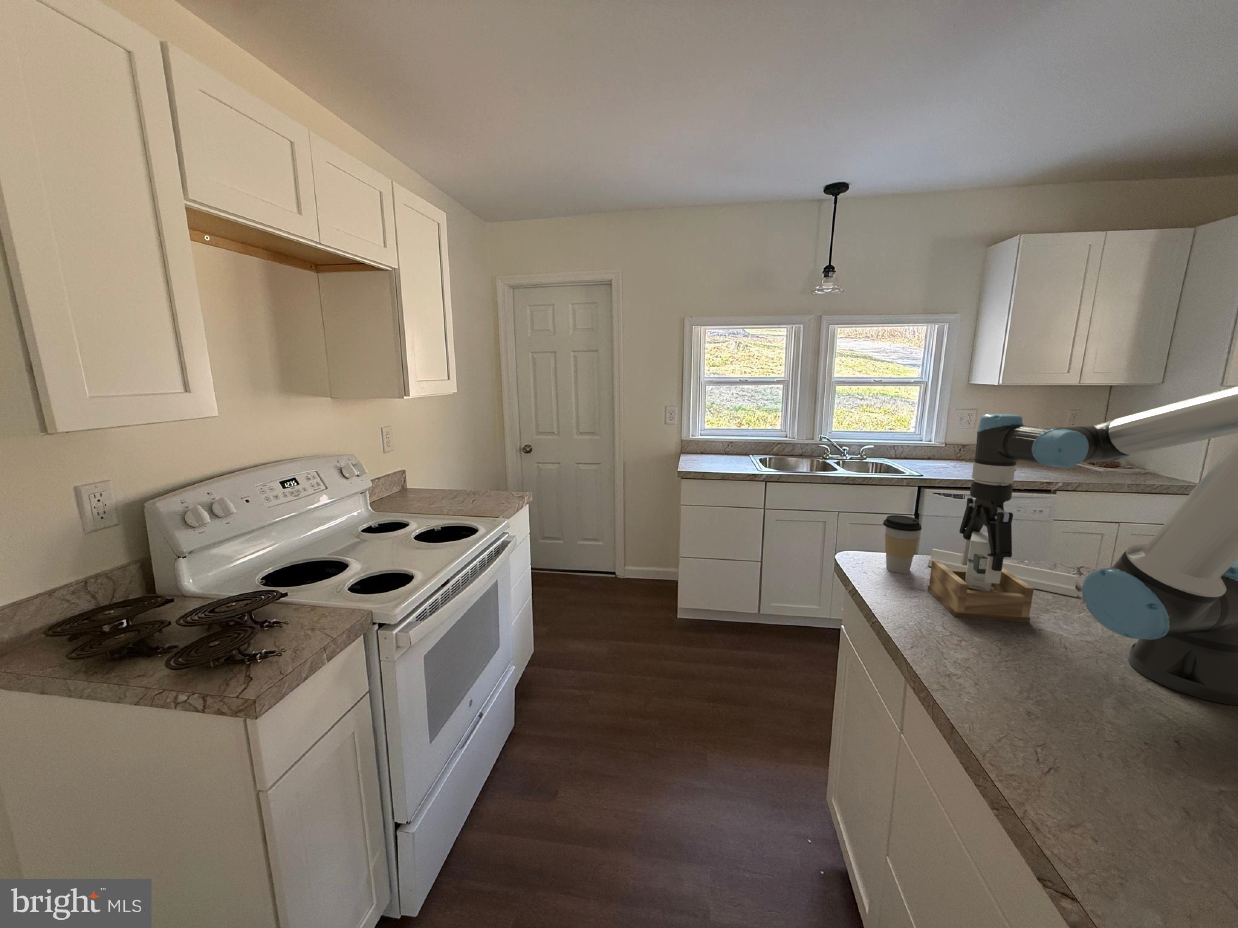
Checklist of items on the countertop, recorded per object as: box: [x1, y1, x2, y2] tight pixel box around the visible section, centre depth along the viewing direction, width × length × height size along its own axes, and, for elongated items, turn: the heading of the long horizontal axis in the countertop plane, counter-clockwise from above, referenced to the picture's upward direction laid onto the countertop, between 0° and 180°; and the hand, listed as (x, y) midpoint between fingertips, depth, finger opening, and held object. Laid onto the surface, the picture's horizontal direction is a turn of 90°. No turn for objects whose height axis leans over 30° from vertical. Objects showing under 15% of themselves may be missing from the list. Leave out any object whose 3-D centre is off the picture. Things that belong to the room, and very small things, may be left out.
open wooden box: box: [927, 560, 1035, 624], centre depth 112 cm, size 14×15×8 cm
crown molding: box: [927, 548, 1078, 598], centre depth 130 cm, size 31×12×4 cm, turn 50°
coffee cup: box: [882, 514, 923, 574], centre depth 133 cm, size 9×9×15 cm
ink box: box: [965, 531, 991, 591], centre depth 111 cm, size 9×5×12 cm, turn 141°
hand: (979, 573), depth 111 cm, fingers closed on ink box, 9 cm apart
